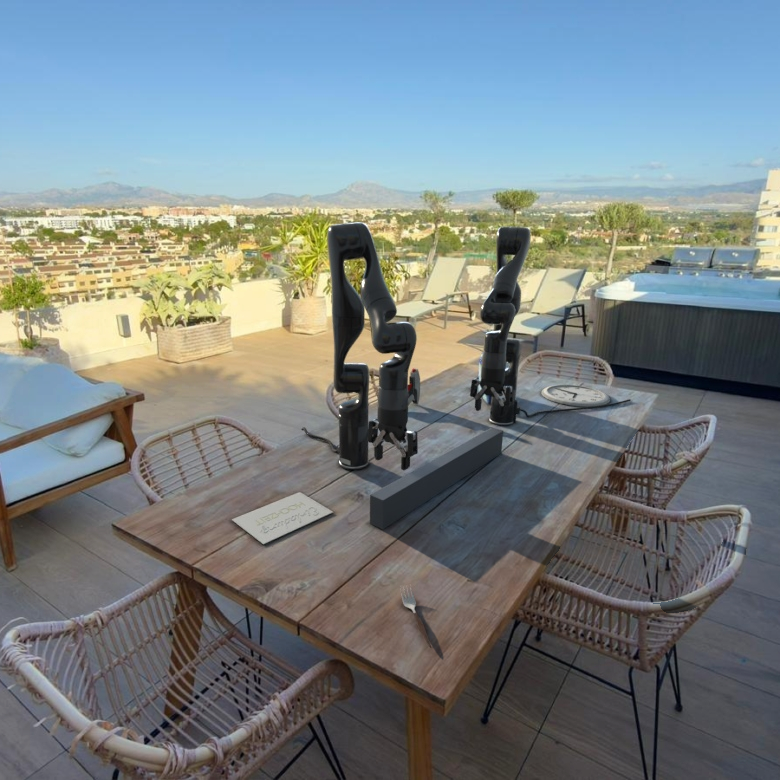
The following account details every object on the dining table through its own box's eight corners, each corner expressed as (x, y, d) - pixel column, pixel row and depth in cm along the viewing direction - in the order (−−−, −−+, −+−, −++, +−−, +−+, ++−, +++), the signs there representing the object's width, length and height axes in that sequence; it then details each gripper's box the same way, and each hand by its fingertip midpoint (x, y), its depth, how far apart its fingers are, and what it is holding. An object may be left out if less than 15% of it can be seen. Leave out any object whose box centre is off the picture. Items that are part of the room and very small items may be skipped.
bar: (490, 449, 180) (491, 427, 178) (501, 453, 178) (503, 430, 175) (369, 523, 134) (369, 494, 132) (382, 529, 132) (383, 500, 129)
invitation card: (299, 491, 149) (333, 511, 139) (299, 492, 149) (333, 512, 139) (231, 519, 134) (263, 543, 124) (231, 520, 134) (263, 544, 124)
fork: (423, 651, 94) (424, 642, 93) (398, 593, 109) (398, 585, 108) (437, 648, 95) (437, 639, 94) (410, 591, 109) (411, 583, 109)
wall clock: (623, 402, 226) (556, 403, 224) (623, 406, 227) (556, 407, 224) (592, 383, 255) (532, 383, 252) (591, 386, 255) (532, 386, 253)
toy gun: (394, 376, 210) (415, 366, 221) (395, 413, 216) (416, 402, 227) (399, 377, 209) (420, 367, 220) (400, 414, 215) (420, 403, 226)
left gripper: (361, 401, 129) (361, 460, 134) (406, 414, 121) (404, 477, 126) (380, 394, 135) (380, 452, 140) (425, 406, 126) (423, 467, 131)
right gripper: (468, 363, 167) (464, 411, 172) (508, 371, 158) (503, 421, 163) (480, 359, 172) (476, 405, 177) (519, 366, 164) (515, 415, 169)
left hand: (391, 464), depth 133 cm, fingers open, 8 cm apart
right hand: (489, 413), depth 170 cm, fingers open, 8 cm apart
